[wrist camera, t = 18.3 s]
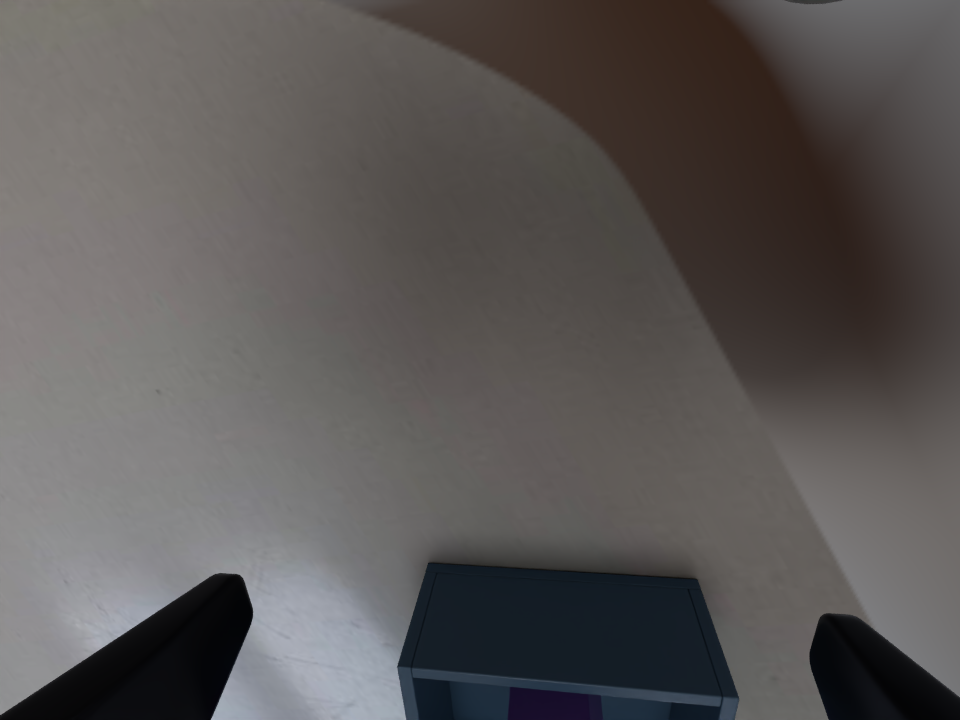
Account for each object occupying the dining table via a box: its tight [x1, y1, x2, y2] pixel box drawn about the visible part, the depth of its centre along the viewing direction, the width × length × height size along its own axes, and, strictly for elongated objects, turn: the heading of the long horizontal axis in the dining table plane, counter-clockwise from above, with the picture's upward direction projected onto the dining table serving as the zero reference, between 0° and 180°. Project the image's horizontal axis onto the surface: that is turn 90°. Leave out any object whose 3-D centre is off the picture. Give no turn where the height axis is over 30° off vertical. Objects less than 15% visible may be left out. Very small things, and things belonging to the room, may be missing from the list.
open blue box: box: [397, 563, 739, 720], centre depth 24 cm, size 13×13×6 cm
